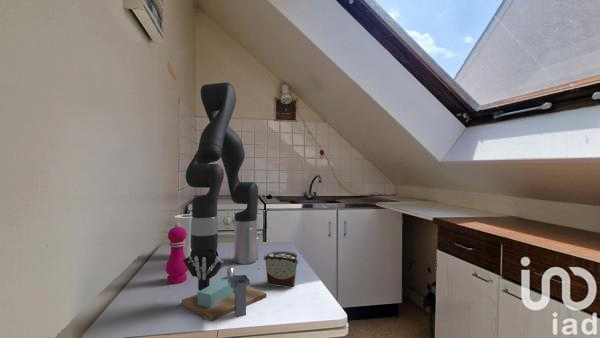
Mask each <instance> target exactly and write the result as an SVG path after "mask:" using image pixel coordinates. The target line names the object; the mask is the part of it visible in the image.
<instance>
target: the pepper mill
mask: <svg viewBox="0 0 600 338" xmlns="http://www.w3.org/2000/svg"><path fill="white" fill-rule="evenodd" d="M167 233H168V234H167V238H168V240H169V243H168V244H169V247H170V255H169V258H168V260H167V262H166V266H165V272H166V274H167V277H166V282H167V283H168V284H170V285H177V284H181V283H182V284H183V283H185V282H186V281H187V279H188V278H187V276H188V275H187V272H188V271H189V270H188V268H187V267H186V265H185V263H184V262H183V260H184V259H185V255H184V245H185V241H184V239H185V238H186V236H187V233H186V230H185V229H184V228H182V227H180V223H176V222H175V224H174V227H172V228H171V229H169V230H168V232H167Z"/></svg>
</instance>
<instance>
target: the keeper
mask: <svg viewBox="0 0 600 338" xmlns="http://www.w3.org/2000/svg"><path fill="white" fill-rule="evenodd" d="M239 275H240V276H233V277H228V283H229V285H230V287H231V288H234V287H235V311H234V314H235V316H236V317H242V316H246V315H247V306H246V286H251V285H250V283H251V281H250V279H249V277H248V276H247V275H246V274H239Z"/></svg>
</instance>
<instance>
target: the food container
mask: <svg viewBox="0 0 600 338" xmlns="http://www.w3.org/2000/svg"><path fill="white" fill-rule="evenodd" d="M263 260H264V261H265V269H266V270H265V271H266V273H265V274H266V279H267V280H266V282H267V285H269V284H270V286H276V285H278V286H277V287H283V286H287V287H286V288H290V287H294V288H295V286H296V275H297V266H298V264H299V263H300V260H299V257H298V255H297V253H295V252H291V251H286V250H285V251H281V250H279V251H278V250H277V251H270V252H266V253H265V254H264V256H263Z"/></svg>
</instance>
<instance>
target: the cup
mask: <svg viewBox="0 0 600 338" xmlns="http://www.w3.org/2000/svg"><path fill="white" fill-rule="evenodd" d="M191 221H192V213H191V214H190V213H188V214H187V213H186V214H177V215H174V222H175V224H176V223H180V227H182V228H184V229H185V230H186V233H187V236H186V238H185V239H184V241H185V245H184V255H185V258H187V257H189V256H190V252H191V250H192V249H191Z"/></svg>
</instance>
